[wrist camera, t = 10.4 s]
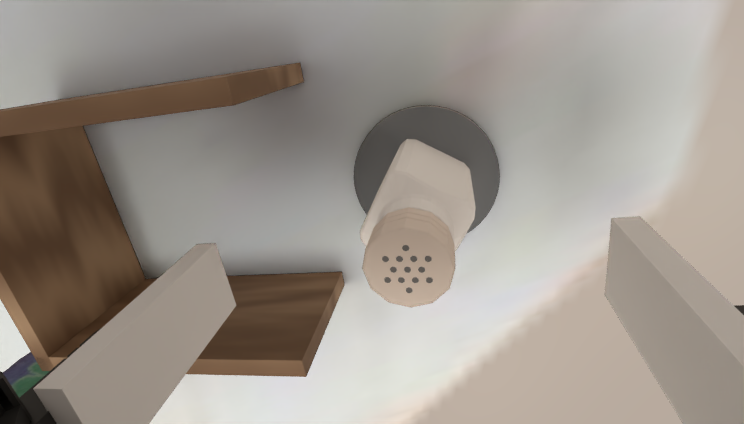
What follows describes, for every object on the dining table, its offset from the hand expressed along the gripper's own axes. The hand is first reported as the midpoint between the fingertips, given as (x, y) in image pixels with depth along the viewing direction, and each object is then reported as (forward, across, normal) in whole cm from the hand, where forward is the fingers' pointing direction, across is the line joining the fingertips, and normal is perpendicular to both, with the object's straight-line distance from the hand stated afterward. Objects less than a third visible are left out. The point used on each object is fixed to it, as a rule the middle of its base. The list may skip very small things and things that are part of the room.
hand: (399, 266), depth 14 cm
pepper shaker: (+10, 0, 0) cm, 10 cm away
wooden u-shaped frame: (+10, -14, 0) cm, 17 cm away
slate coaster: (+10, 0, 0) cm, 10 cm away
